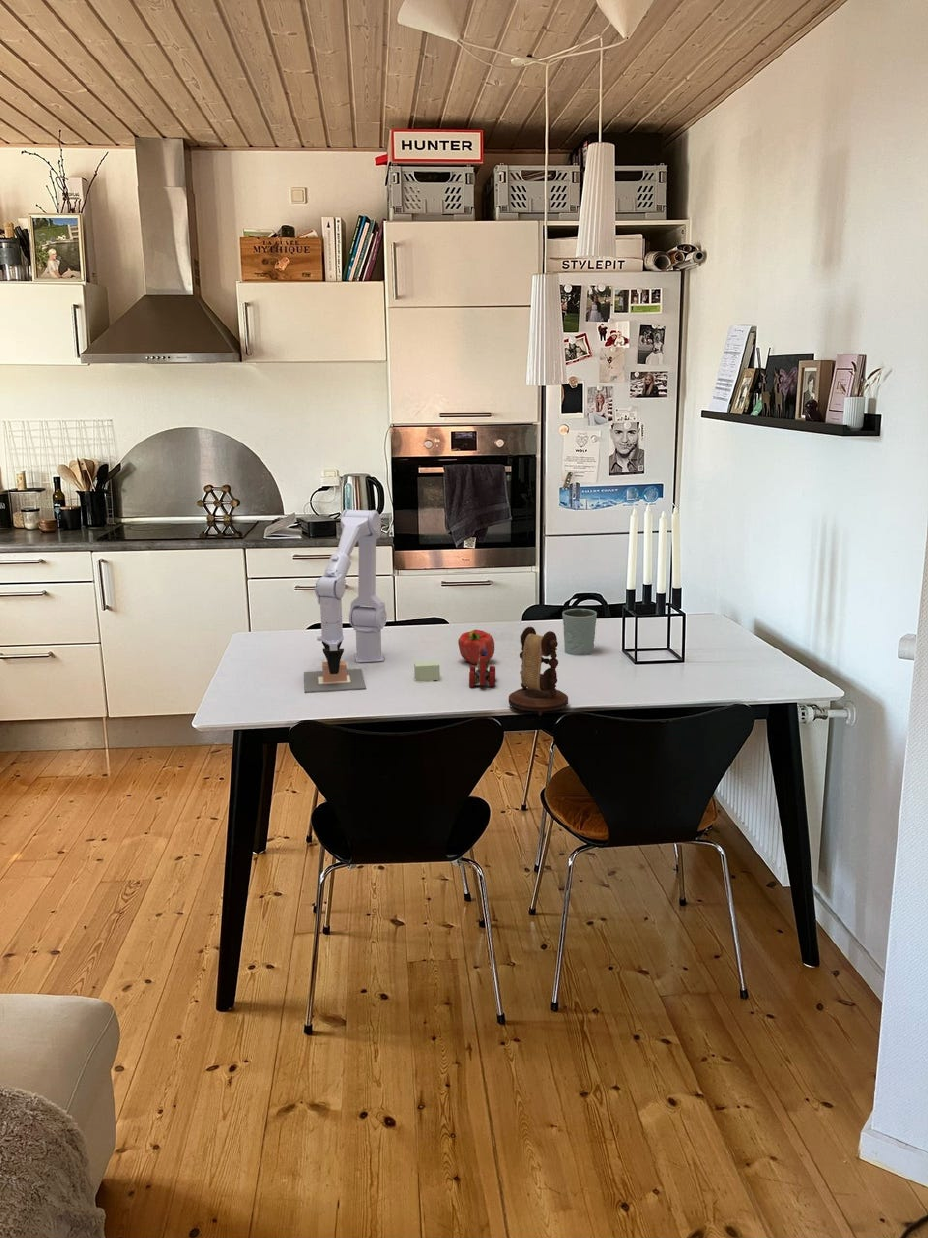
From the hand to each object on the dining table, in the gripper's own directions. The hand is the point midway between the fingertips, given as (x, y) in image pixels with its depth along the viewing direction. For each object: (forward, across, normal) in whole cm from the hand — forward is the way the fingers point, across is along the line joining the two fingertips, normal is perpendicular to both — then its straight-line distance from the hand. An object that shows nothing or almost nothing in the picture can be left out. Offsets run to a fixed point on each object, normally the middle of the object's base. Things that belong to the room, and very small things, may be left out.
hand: (333, 669), depth 269 cm
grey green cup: (+3, -15, +73) cm, 75 cm away
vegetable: (+3, -10, +41) cm, 42 cm away
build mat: (+3, 0, 0) cm, 3 cm away
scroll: (+3, +32, +49) cm, 59 cm away
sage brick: (+3, +3, +25) cm, 25 cm away
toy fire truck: (+3, +10, +39) cm, 40 cm away
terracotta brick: (+3, 0, 0) cm, 3 cm away
